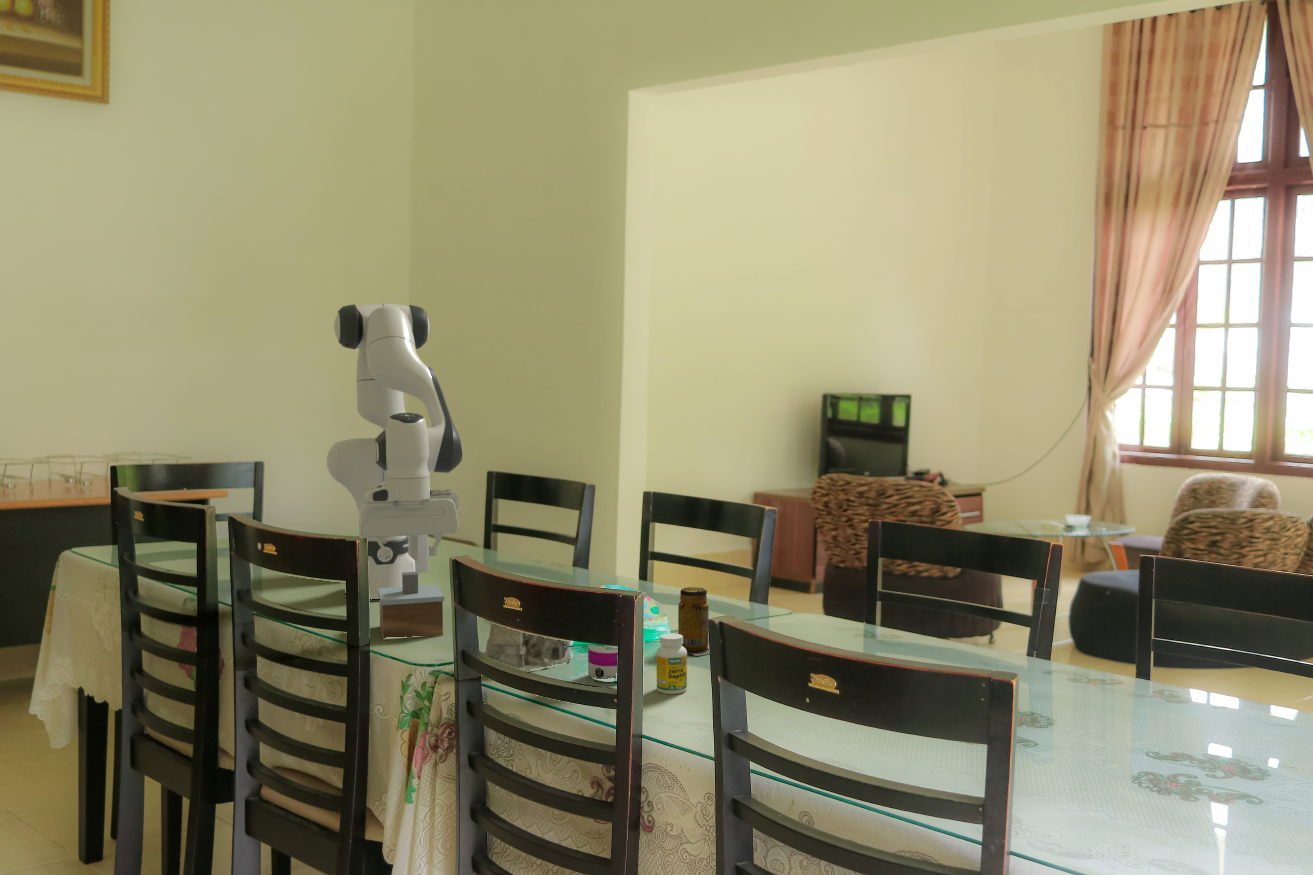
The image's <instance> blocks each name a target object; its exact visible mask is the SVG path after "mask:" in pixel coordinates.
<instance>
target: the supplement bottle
mask: <svg viewBox="0 0 1313 875" xmlns="http://www.w3.org/2000/svg"><path fill="white" fill-rule="evenodd" d="M659 643H660V645H661V646H659V647H658V648H657V649H656V653H655V654H656V655H655V656H656V659H655V660H656V662H655V663H656V665H655V666H656V690H657V692H659V693H661V694H665V695H679V694H683V693H685V692H686V691H687V690H688V653H687V651H686V649H685V648H684V647H683V646H681V645H682V644H683V636H682V635H680V634H678V633H674V632H673V633H670V632H669V633H664V634H660V636H659Z"/></svg>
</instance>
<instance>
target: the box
mask: <svg viewBox="0 0 1313 875" xmlns="http://www.w3.org/2000/svg"><path fill="white" fill-rule="evenodd" d="M443 605H444V604H443V601H439V602H424V603H410V604H395V605H381V603H380V602H379V626H381V628H380V632H381V631H382V632H381V635H382V634H383V637H382V639H383V638H386V637H405V636H406V637H412V636H430V637H438V636H437V635H443V636H444V618H443V617H444V613H443V612H444V611H443ZM435 635H436V636H435Z"/></svg>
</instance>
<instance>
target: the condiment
mask: <svg viewBox="0 0 1313 875" xmlns="http://www.w3.org/2000/svg"><path fill="white" fill-rule="evenodd" d="M679 593H680V594H679V595H680V597H679V599H680V601H679V602H678V606H677V608H678V610H677V611H678V612H677V614H678V618H677V624H678V627H677V628H678V631H677V634H680V635H682V636H683V644H682V645H681V646H683V647H684V648H685V649H686V651H687V655H688V654H689V655H693V656H704V655H709V646H710V645H709V643H710V642H709V638H708V636H709V635H708V634H709V629H708V625H709V624H708V623H709V622H708V621H710V619H709V617H710V616H709V615H710V614H709V610H710V609H709V608H710V606H709V602H707V599H708V597H707V596H708V595H707V594H708V591H707V589H706V588H704V587H703V588H702V587H696V586H695V587H694V586H691V587H690V586H689V587H688V586H687V587H684V588H681V590H680V592H679Z"/></svg>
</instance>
